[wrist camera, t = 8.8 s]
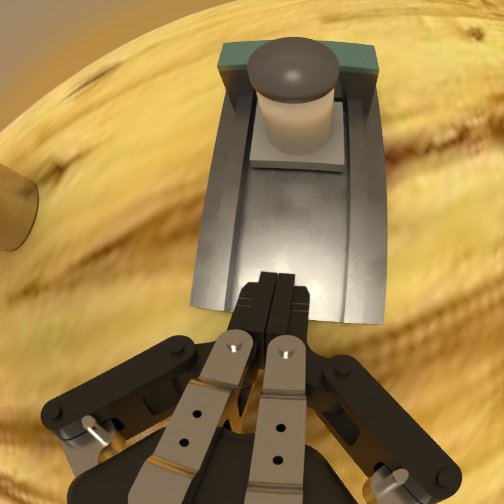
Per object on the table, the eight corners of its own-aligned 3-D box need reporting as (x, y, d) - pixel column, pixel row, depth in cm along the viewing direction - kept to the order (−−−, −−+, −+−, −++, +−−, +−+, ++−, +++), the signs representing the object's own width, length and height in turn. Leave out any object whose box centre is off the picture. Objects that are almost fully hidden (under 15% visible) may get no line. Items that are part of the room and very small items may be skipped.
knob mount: (194, 306, 23) (155, 301, 17) (232, 80, 27) (215, 32, 21) (379, 324, 21) (408, 326, 14) (373, 84, 25) (382, 35, 18)
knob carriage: (252, 167, 23) (226, 99, 15) (259, 108, 25) (240, 36, 16) (342, 172, 22) (356, 103, 14) (341, 110, 23) (348, 37, 15)
